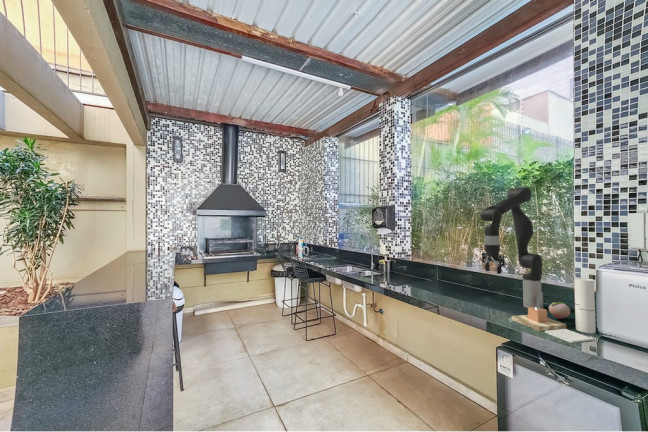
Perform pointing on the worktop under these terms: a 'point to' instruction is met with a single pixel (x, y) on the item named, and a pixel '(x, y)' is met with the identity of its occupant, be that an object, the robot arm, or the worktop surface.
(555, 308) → the decorative fruit
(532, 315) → the collar
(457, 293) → the worktop surface
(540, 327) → the stand base
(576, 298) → the cylindrical container
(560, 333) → the pad
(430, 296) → the worktop surface
